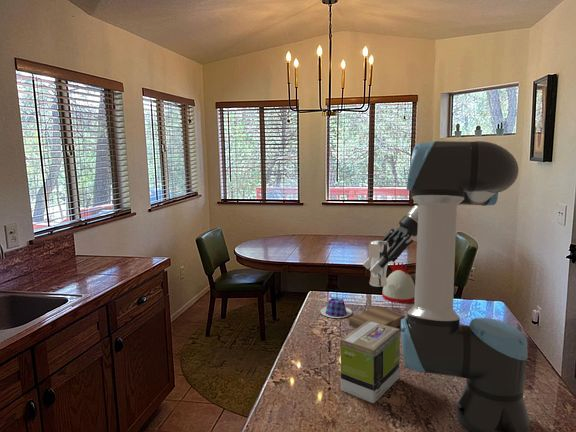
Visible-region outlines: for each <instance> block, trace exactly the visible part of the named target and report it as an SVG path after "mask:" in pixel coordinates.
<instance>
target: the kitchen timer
mask: <svg viewBox="0 0 576 432" xmlns="http://www.w3.org/2000/svg"><path fill="white" fill-rule="evenodd" d="M392 263H393V264H389V267H390V268H391V271H392V272H391V273H390V274H389V275H388V276H386V280H387V285H386V286H383V287H382V296H381V297H382V298H383V299H384V300H386V301H388V302H391V303H397V304H410V303H414V302H415V282H414V280H413V278H412V276H411V275H410V274H409V272H410V271H411V269H410V268H409V269H408V270H407V265H405V266H404V262H402V263H401V264H400V262H397V264H396V261H394V262H392Z"/></svg>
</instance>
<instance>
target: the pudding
mask: <svg viewBox="0 0 576 432" xmlns="http://www.w3.org/2000/svg"><path fill="white" fill-rule="evenodd" d="M345 304H346V303H345V302H344V299H342V298H339V297H334V298H330V299H329V300H328V302H327V305H326V306H325V307H322V308H321V309H320V311H319V312H320V313H321V314H322V315H323V316H324V317H328V318H333V319H341V318H342V319H343V318H347V317H350V316H352V314H353V311H352V309H350V308H348V307H346V305H345Z"/></svg>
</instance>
